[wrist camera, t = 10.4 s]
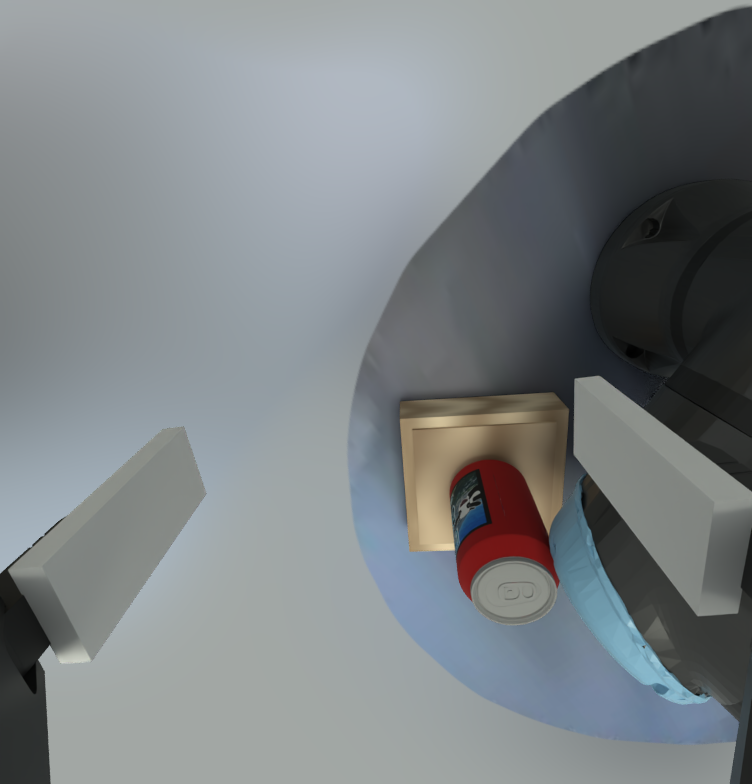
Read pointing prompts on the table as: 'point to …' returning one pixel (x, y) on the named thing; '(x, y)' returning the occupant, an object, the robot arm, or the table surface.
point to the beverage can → (501, 544)
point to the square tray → (478, 454)
